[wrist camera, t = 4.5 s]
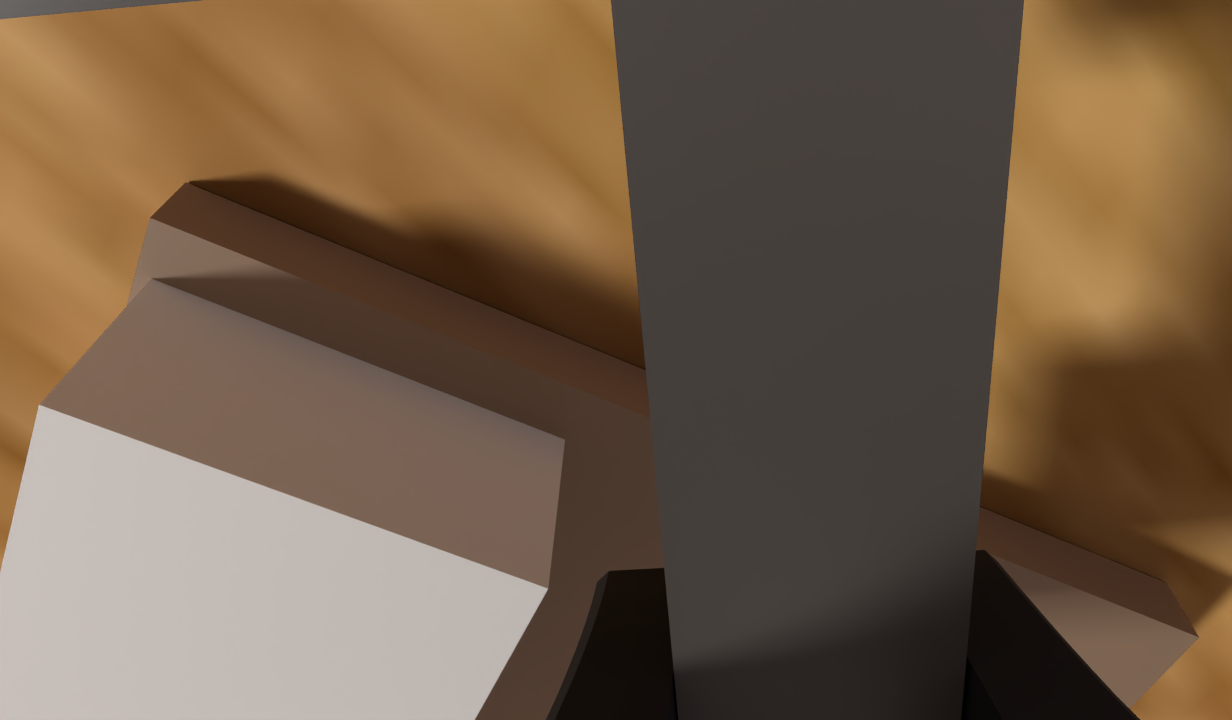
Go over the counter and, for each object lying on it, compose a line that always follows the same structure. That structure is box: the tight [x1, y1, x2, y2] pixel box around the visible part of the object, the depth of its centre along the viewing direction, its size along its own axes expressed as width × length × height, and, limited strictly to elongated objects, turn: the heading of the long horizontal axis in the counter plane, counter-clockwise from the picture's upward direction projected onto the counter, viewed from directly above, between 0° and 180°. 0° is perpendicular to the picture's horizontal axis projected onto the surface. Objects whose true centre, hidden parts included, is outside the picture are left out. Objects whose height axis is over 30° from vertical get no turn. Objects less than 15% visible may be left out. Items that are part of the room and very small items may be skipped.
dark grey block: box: [0, 0, 1024, 720], centre depth 11 cm, size 11×14×5 cm
